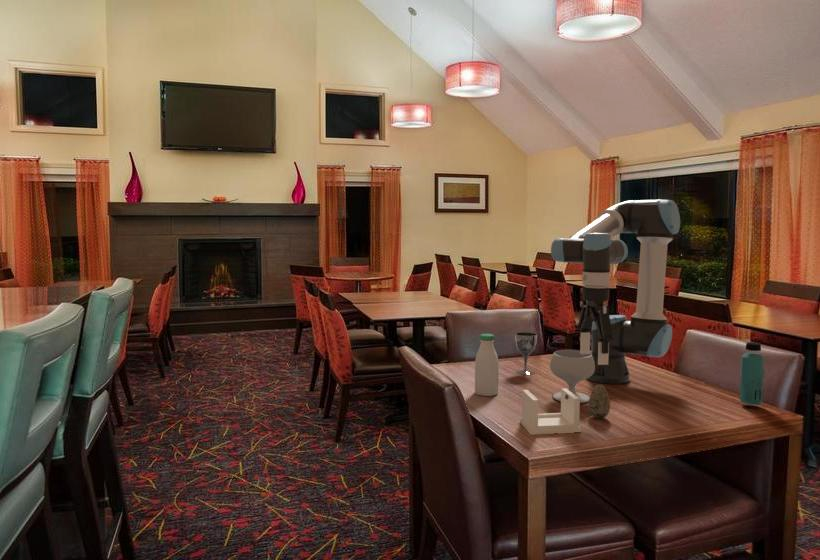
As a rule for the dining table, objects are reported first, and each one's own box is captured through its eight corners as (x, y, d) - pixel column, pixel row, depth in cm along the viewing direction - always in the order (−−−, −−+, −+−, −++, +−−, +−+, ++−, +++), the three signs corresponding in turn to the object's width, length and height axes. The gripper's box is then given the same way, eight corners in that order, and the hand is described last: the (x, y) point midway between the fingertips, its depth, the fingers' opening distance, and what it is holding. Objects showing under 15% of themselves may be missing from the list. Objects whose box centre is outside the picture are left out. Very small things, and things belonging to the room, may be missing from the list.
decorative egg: (609, 422, 170) (610, 388, 169) (587, 420, 172) (588, 386, 171) (610, 415, 176) (611, 382, 175) (589, 413, 178) (590, 381, 177)
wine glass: (539, 371, 227) (539, 333, 226) (531, 376, 221) (532, 336, 219) (519, 369, 232) (520, 331, 230) (511, 373, 225) (512, 334, 223)
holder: (567, 420, 172) (568, 388, 171) (580, 432, 162) (581, 398, 161) (520, 422, 171) (520, 389, 170) (530, 434, 161) (531, 400, 160)
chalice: (545, 392, 200) (546, 348, 199) (587, 392, 200) (588, 348, 198) (554, 405, 186) (555, 358, 185) (599, 405, 186) (600, 358, 184)
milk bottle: (497, 397, 195) (498, 337, 193) (473, 396, 196) (474, 336, 194) (498, 390, 202) (499, 332, 200) (475, 389, 204) (476, 332, 202)
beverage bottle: (754, 410, 180) (757, 345, 178) (733, 404, 186) (736, 341, 184) (767, 407, 183) (771, 343, 181) (746, 401, 189) (750, 339, 187)
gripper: (568, 282, 184) (566, 350, 186) (600, 291, 159) (598, 369, 161) (591, 282, 184) (589, 349, 186) (627, 291, 159) (624, 369, 161)
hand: (593, 359), depth 174 cm, fingers open, 13 cm apart
